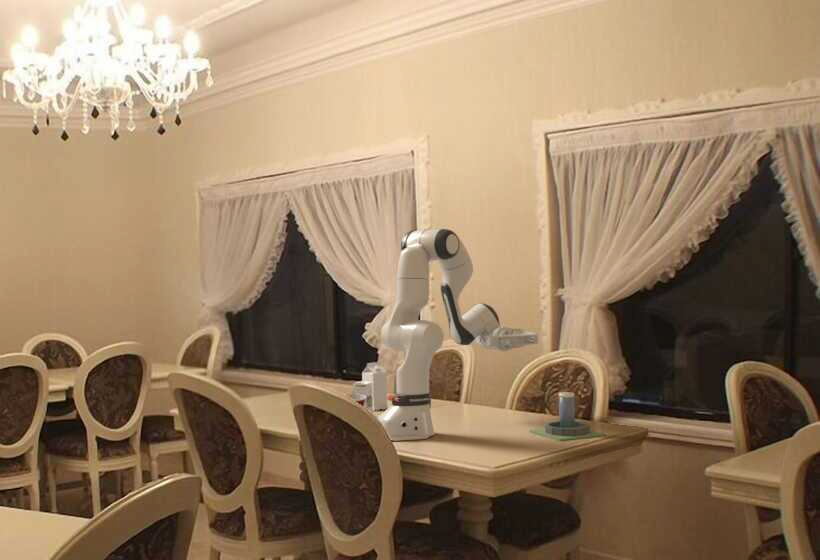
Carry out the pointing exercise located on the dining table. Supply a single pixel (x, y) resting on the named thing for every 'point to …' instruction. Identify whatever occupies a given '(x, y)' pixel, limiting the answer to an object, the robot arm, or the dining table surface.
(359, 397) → the plastic cup
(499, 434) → the dining table surface
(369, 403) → the syrup box
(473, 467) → the dining table surface
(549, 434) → the practice green
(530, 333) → the robot arm
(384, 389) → the milk carton
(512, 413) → the dining table surface
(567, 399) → the ball tube
